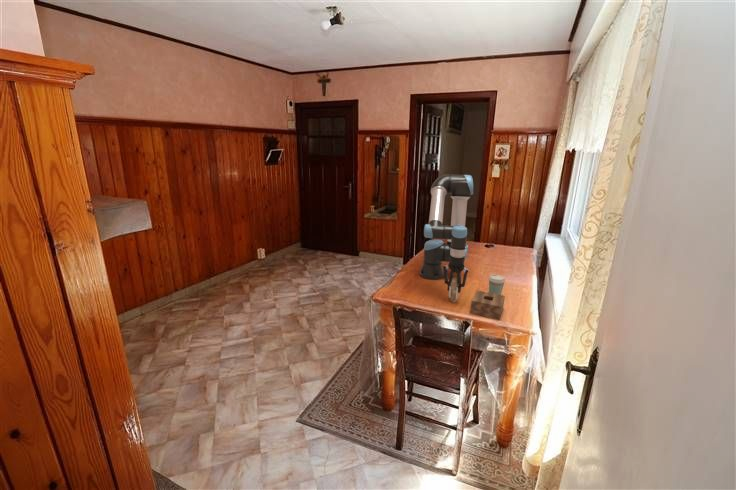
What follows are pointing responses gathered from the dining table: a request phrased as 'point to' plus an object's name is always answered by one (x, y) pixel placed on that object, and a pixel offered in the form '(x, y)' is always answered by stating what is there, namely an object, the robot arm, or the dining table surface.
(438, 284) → the dining table surface
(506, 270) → the dining table surface
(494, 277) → the coffee cup
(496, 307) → the bore block
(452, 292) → the dowel
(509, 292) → the dining table surface
